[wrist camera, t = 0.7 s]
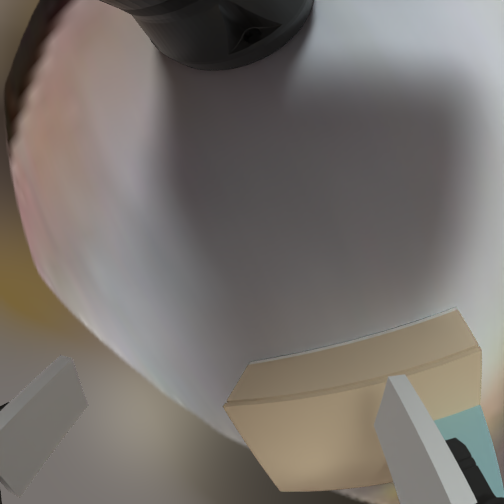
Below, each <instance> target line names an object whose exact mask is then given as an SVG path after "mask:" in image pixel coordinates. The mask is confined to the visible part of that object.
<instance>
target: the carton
mask: <svg viewBox="0 0 504 504" xmlns="http://www.w3.org/2000/svg"><path fill="white" fill-rule="evenodd" d="M476 347H478V343H477V341H476V339H475V337H474V336H473V334H472V332H471V331H470V329H469V327H468V325H467V324H466V322H465V321H464V319H463V317H462V316H461V314H460V312H459V311H458V309H457V308H456V307H455V308H452V309H449V310H447V311H444V312H441V313H438V314H435V315H433V316H430V317H427V318H424V319H421V320H418V321H415V322H412V323H409V324H406V325H403V326H399V327H396V328H393V329H390V330H386V331H383V332H379V333H376V334H373V335H369V336H365V337H362V338H358V339H354V340H351V341H347V342H343V343H339V344H335V345H331V346H326V347H322V348H318V349H314V350H309V351H305V352H300V353H295V354H290V355H285V356H280V357H275V358H270V359H264V360H259V361H253V362H249V364H248V366H247V367H246V369H245V371H244V373H243V374H242V376H241V378H240V379H239V381H238V383H237V384H236V386H235V388H234V389H233V391H232V392H231V394H230V396H229V397H228V399H227V402H228V403H232V402H244V401H255V400H265V399H273V398H281V397H289V396H296V395H302V394H309V393H315V392H321V391H326V390H331V389H337V388H342V387H346V386H351V385H356V384H360V383H364V382H369V381H373V380H377V379H381V378H385V377H388V376H392V375H396V374H400V373H403V372H407V371H410V370H413V369H417V368H420V367H423V366H426V365H429V364H432V363H435V362H438V361H441V360H444V359H447V358H450V357H453V356H455V355H458V354H461V353H463V352H466V351H468V350H471V349H474V348H476Z"/></svg>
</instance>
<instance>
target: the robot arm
mask: <svg viewBox="0 0 504 504" xmlns="http://www.w3.org/2000/svg"><path fill="white" fill-rule="evenodd" d="M100 1H102V2H105V3H107V4H109V5H112V6H114V7H117V8H119V9H121V10H123V11H125V12H127V13H129V14H131V15H132V16H133V17H134V19H135V20H136V21H137V23H138V24H139V25H140V27H141V28H142V29H143V31H144V32H145V33H146V34H147V36H148V37H149V38H150V40H151V42H152V43H153V44H154V45H155V47H156V48H157V49H158V50H159V51H161V52H162V53H163V54H165V55H166V56H168V57H170V58H172V59H174V60H176V61H178V62H180V63H182V64H184V65H186V66H189V67H192V68H196V69H202V70H224V69H231V68H236V67H240V66H243V65H247V64H250V63H252V62H255V61H257V60H260V59H262V58H264V57H266V56H267V55H269V54H271V53H273V52H274V51H276V50H277V49H279V48H280V47H282V46H283V45H284V44H285V43H287V42H288V41H289V40H290V39H291V38H292V37H293V36H294V35H295V34H296V33H297V32H298V31H299V30H300V28H301V27H302V25H303V24H304V23H305V21H306V19H307V17H308V15H309V13H310V10H311V7H312V3H313V0H100ZM87 406H88V402H87V400H86V397H85V394H84V392H83V389H82V386H81V383H80V380H79V377H78V374H77V371H76V368H75V365H74V361H73V358H69V357H65V356H59V357H58V358H57V359H56V360H55V361H54V362H52V364H50V365H49V366H48V367H47V368H46V369H45V370H44V371H43V372H42V373H40V374H39V375H38V376H37V377H36V378H35V379H34V380H33V381H32V382H30V383H29V384H28V385H27V386H26V387H25V388H24V389H23V390H22V391H21V392H20V393H19V394H18V395H17V396H16V397H14V398H13V400H12V401H10V402H8V403H6V404H4V405H2V406H0V482H1V483H2V484H3V485H4V486H5V488H6V489H7V490H9V491H10V492H12V493H13V494H15V495H16V496H18V497H19V498H20V497H21V496H22V495H23V493H24V492H25V490H26V489H27V487H28V486H29V485H30V483H31V482H32V480H33V479H34V478H35V476H36V475H37V473H38V472H39V471H40V469H41V468H42V467H43V465H44V463H45V462H46V461H47V460H48V458H49V457H50V455H51V454H52V453H53V452H54V450H55V449H56V447H57V446H58V445H59V443H60V442H61V441H62V439H63V438H64V437H65V435H66V434H67V433H68V431H69V430H70V429H71V428H72V426H73V425H74V423H75V422H76V421H77V420H78V418H79V417H80V416H81V414H82V413H83V412H84V410H85V409H86V408H87ZM374 428H375V431H376V433H377V436H378V439H379V442H380V445H381V447H382V450H383V453H384V456H385V459H386V462H387V465H388V467H389V470H390V473H391V476H392V479H393V482H394V485H395V488H396V491H397V495H398V498H399V501H400V504H504V498H503V497H496V496H495V495H494V493H493V492H492V490H491V488H490V486H489V485H488V483H487V481H486V479H485V477H484V476H483V474H482V472H481V470H480V469H479V467H478V465H477V466H476V462H475V460H474V458H473V457H471V456H472V455H471V453H470V452H469V450H468V448H467V447H466V445H465V444H463V443H462V442H461V441H459V440H458V439H457V438H456V437H455V438H452V439H448V440H444V438H443V436H442V435H441V433H440V431H439V429H438V428H437V426H436V424H435V423H434V421H433V419H432V417H431V416H430V414H429V412H428V411H427V409H426V407H425V406H424V404H423V402H422V401H421V399H420V397H419V396H418V394H417V393H416V391H415V389H414V388H413V386H412V385H411V383H410V381H409V380H408V378H407V377H406V375H405V374H404V375H396V376H388V379H387V383H386V386H385V390H384V393H383V397H382V400H381V403H380V407H379V410H378V413H377V416H376V419H375V422H374ZM0 504H2V501H1V491H0Z"/></svg>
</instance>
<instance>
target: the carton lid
mask: <svg viewBox="0 0 504 504" xmlns="http://www.w3.org/2000/svg"><path fill="white" fill-rule="evenodd" d="M404 374H405V375H406V377H407V378H408V380H409V381H410V383H411V385H412V386H413V388H414V389H415V391H416V393H417V394H418V396H419V397H420V399H421V401H422V402H423V404H424V406H425V407H426V409H427V411H428V412H429V414H430V416H431V417H432V419H433V421H434V423H435V424H436V426H437V428H438V429H439V431H440V433H441V435H442V436H443V438H444V440H448V439H452V438H455V437H456V438H457V439H458V440H459V441H461V442H462V443H463V444H465V445H466V447H467V448H468V450H469V452H470V453H471V455H472V456H471V457H473V458H474V460H475V462H476V466H477V465H478V467H479V469H480V470H481V472H482V474H483V476H484V477H485V479H486V481H487V483H488V485H489V486H490V488H491V490H492V492H493V493H494V495H495V496H496V497H503V498H504V489H503V484H502V479H501V475H500V470H499V466H498V462H497V458H496V454H495V450H494V447H493V443H492V440H491V436H490V433H489V430H488V427H487V423H486V420H485V417H484V414H483V411H482V408H481V406H480V399H481V377H482V350H481V348H480V346H479V347H476V348H474V349H471V350H468V351H466V352H463V353H461V354H458V355H455V356H453V357H450V358H447V359H444V360H441V361H438V362H435V363H432V364H429V365H426V366H423V367H420V368H417V369H413V370H410V371H407V372H403V373H400V374H396V375H404ZM396 375H392V376H396ZM387 379H388V377H385V378H381V379H377V380H373V381H369V382H364V383H360V384H356V385H351V386H346V387H342V388H337V389H331V390H326V391H321V392H315V393H309V394H302V395H296V396H289V397H281V398H273V399H265V400H255V401H244V402H232V403H225V404H224V406H223V408H224V410H225V411H226V413H227V414H228V416H229V418H230V419H231V421H232V422H233V424H234V425H235V427H236V429H237V430H238V432H239V433H240V435H241V436H242V438H243V439H244V441H245V442H246V444H247V445H248V447H249V448H250V450H251V451H252V453H253V454H254V455H255V457H256V459H257V460H258V461H259V463H260V464H261V466H262V467H263V469H264V470H265V471H266V473H267V474H268V475H269V477H270V478H271V480H272V481H273V482H274V484H275V485H276V486H277V488H278V489H279V490H280V491H281V492H300V491H301V492H302V491H303V492H304V491H326V490H339V489H350V488H358V487H366V486H373V485H379V484H385V483H391V482H393V479H392V476H391V473H390V470H389V467H388V465H387V462H386V459H385V456H384V453H383V450H382V447H381V445H380V442H379V439H378V436H377V433H376V431H375V428H374V422H375V419H376V416H377V413H378V410H379V407H380V403H381V400H382V397H383V393H384V390H385V386H386V383H387Z"/></svg>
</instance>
